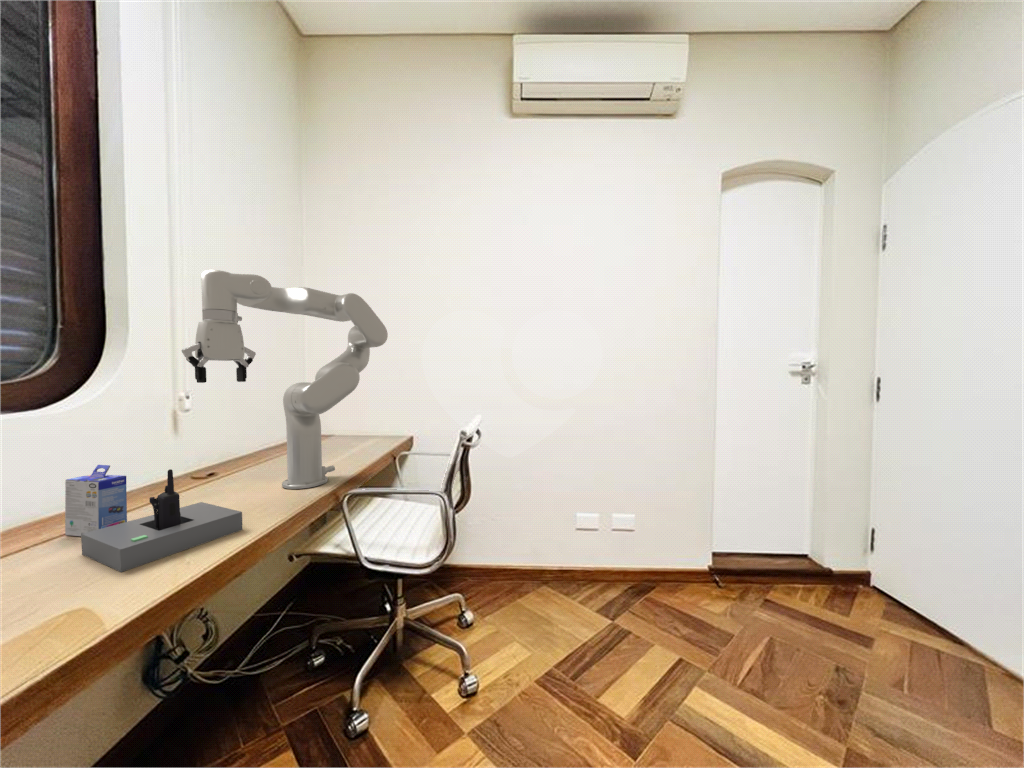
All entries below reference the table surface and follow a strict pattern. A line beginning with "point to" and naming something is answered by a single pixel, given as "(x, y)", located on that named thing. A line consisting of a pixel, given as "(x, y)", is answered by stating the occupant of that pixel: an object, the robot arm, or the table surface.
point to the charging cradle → (158, 536)
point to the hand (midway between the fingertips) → (222, 382)
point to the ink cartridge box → (94, 502)
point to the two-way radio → (166, 506)
